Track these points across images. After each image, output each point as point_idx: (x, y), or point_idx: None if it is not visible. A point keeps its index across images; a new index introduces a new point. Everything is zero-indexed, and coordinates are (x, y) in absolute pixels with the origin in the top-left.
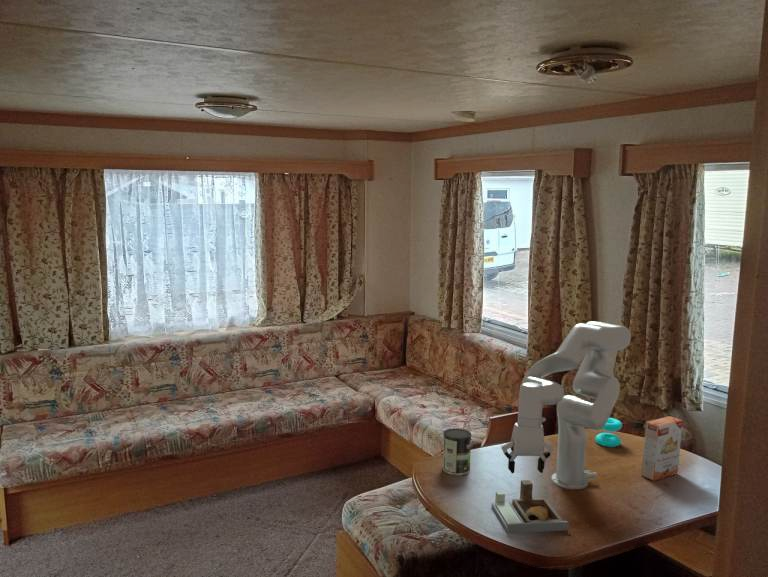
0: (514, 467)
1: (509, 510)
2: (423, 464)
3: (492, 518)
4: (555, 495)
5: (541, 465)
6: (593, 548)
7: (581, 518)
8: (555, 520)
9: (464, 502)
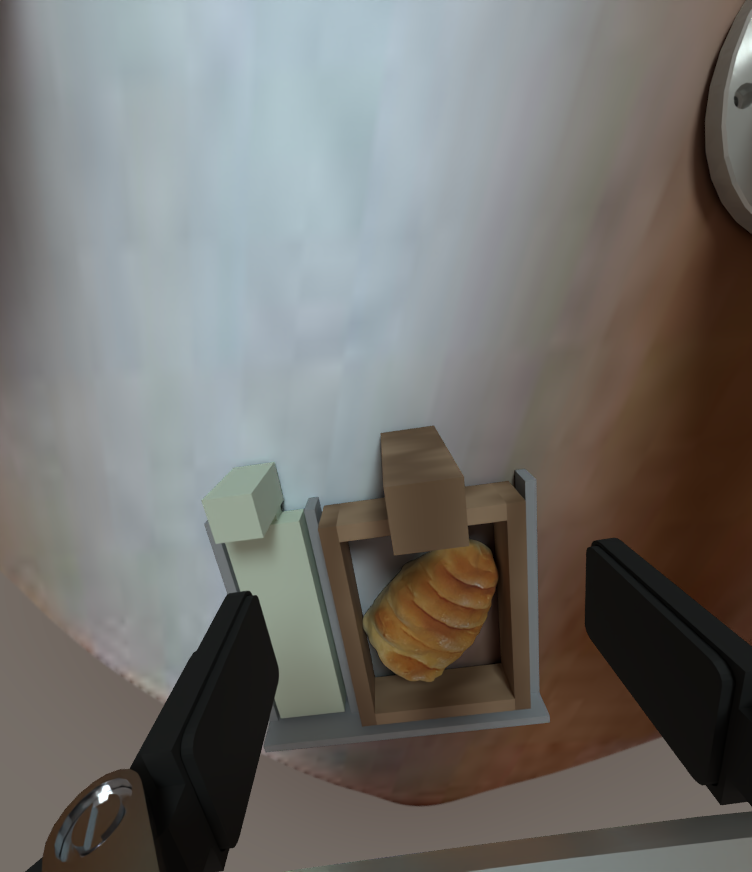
0: (259, 749)
1: (295, 597)
2: None
3: (219, 604)
4: (625, 340)
5: (658, 721)
6: (578, 764)
7: None
8: (496, 707)
9: (63, 463)
